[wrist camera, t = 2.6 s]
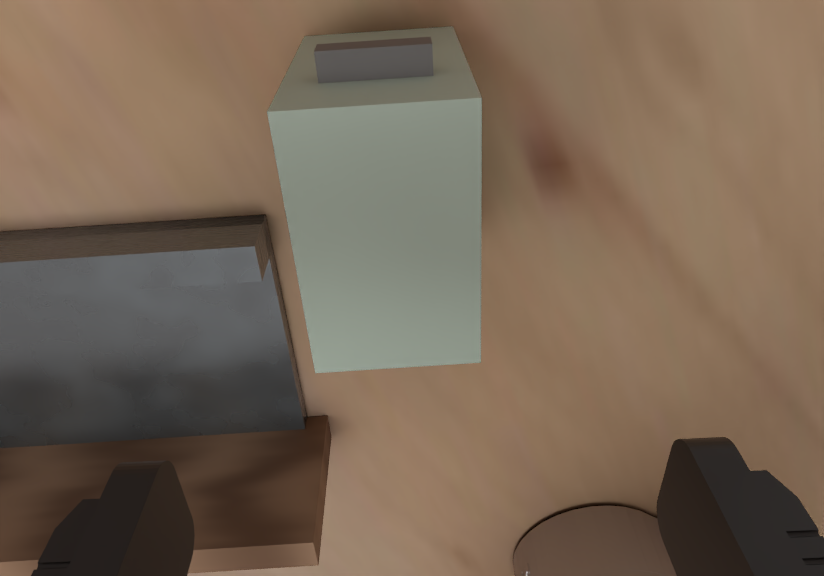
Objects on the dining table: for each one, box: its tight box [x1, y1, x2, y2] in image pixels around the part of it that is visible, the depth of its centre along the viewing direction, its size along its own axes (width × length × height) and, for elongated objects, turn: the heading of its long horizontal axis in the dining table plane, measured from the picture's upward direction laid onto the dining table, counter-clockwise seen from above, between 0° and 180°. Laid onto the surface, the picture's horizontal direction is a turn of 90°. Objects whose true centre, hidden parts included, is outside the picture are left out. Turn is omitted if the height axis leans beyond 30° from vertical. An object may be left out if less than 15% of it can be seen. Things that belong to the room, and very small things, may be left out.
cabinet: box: [267, 26, 482, 373], centre depth 20 cm, size 5×9×8 cm, turn 3°
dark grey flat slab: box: [0, 215, 307, 448], centre depth 27 cm, size 18×11×2 cm, turn 93°
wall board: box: [0, 416, 331, 576], centre depth 29 cm, size 20×2×7 cm, turn 93°
